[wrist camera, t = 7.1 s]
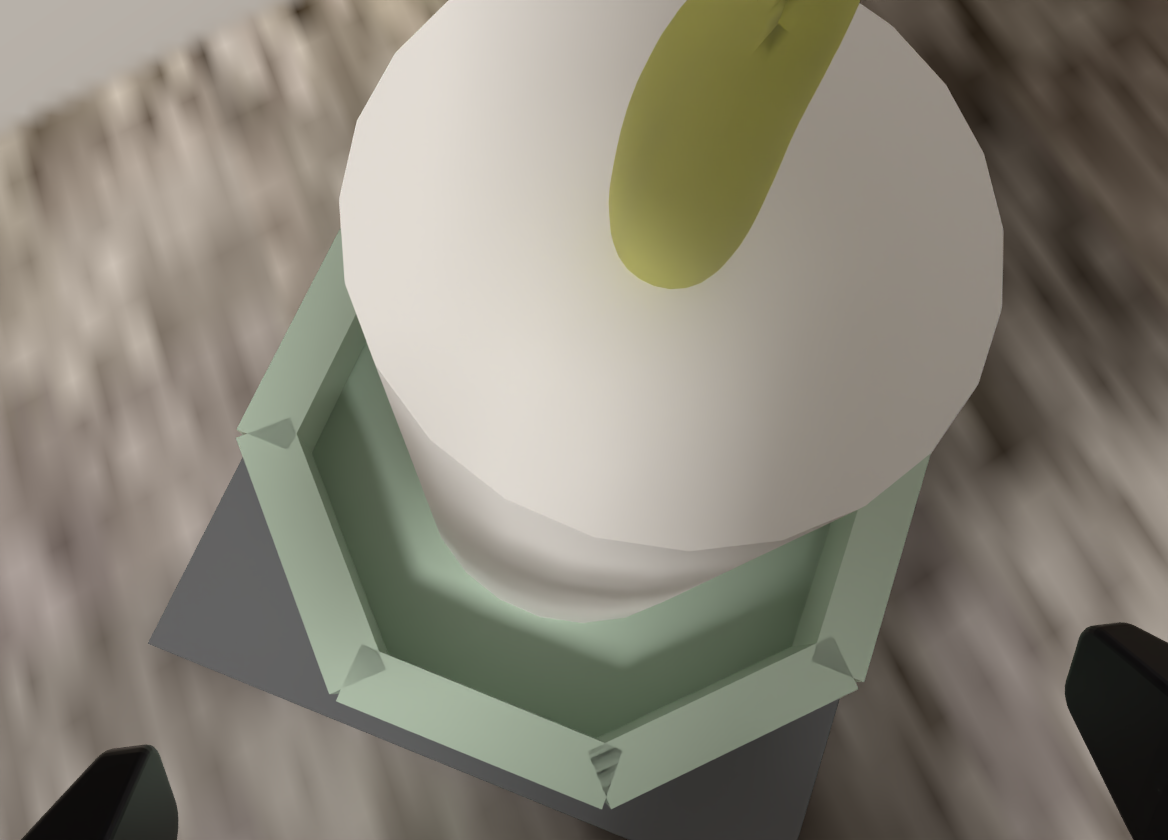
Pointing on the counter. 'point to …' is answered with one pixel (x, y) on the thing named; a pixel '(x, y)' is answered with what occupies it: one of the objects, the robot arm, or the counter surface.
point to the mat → (290, 671)
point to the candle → (663, 281)
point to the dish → (521, 639)
